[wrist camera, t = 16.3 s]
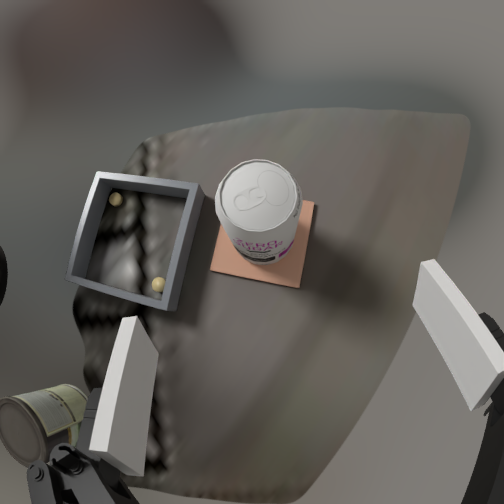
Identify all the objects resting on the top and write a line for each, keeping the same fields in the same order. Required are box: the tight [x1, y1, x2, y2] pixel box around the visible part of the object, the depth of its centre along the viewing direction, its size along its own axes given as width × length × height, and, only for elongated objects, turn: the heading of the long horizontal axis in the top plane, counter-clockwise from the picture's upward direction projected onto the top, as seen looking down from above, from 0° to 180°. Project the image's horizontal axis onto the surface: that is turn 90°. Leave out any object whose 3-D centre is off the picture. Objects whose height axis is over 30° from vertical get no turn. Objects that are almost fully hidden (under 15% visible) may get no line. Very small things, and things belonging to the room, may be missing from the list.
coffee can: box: [0, 384, 88, 467], centre depth 33 cm, size 10×10×14 cm
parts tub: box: [65, 172, 205, 311], centre depth 42 cm, size 17×17×4 cm
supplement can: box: [215, 159, 303, 265], centre depth 35 cm, size 8×8×15 cm
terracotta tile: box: [210, 200, 314, 288], centre depth 43 cm, size 12×12×1 cm
